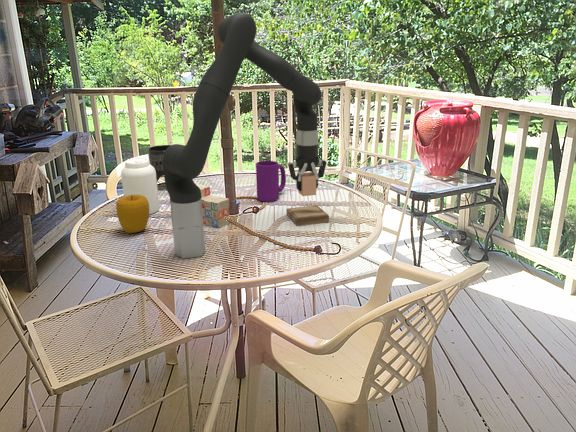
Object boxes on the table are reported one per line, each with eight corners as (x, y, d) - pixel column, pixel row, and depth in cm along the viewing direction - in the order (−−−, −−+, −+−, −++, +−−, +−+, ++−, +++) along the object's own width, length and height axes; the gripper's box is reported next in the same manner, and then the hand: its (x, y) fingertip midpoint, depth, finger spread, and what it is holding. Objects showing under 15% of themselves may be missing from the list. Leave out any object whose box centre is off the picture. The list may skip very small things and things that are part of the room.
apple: (142, 238, 165) (138, 201, 160) (112, 236, 167) (107, 199, 162) (157, 226, 175) (153, 191, 171) (128, 224, 177) (124, 190, 172)
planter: (158, 182, 227) (154, 144, 221) (185, 183, 226) (182, 145, 220) (147, 191, 215) (142, 150, 209) (175, 192, 214) (171, 151, 208)
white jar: (166, 209, 192) (161, 158, 185) (140, 218, 182) (133, 165, 175) (145, 203, 199) (139, 154, 192) (119, 212, 189) (112, 161, 182)
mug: (252, 199, 202) (250, 163, 197) (276, 190, 214) (275, 156, 209) (269, 203, 197) (268, 167, 192) (293, 194, 208) (293, 159, 203)
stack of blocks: (230, 223, 177) (228, 190, 173) (218, 228, 172) (216, 194, 168) (188, 212, 189) (186, 181, 185) (176, 217, 184) (173, 185, 180)
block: (316, 194, 176) (316, 175, 173) (302, 196, 175) (302, 177, 172) (311, 190, 180) (311, 172, 178) (298, 192, 179) (298, 173, 177)
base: (328, 222, 177) (328, 215, 176) (296, 225, 174) (296, 218, 173) (317, 211, 188) (317, 204, 187) (286, 215, 184) (286, 208, 183)
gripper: (290, 146, 166) (291, 194, 172) (330, 143, 170) (329, 190, 175) (284, 142, 173) (284, 188, 178) (322, 139, 176) (322, 185, 182)
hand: (307, 189), depth 177 cm, fingers closed on block, 5 cm apart
